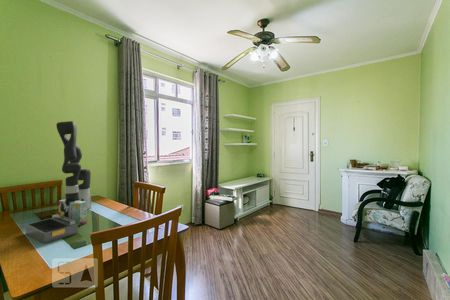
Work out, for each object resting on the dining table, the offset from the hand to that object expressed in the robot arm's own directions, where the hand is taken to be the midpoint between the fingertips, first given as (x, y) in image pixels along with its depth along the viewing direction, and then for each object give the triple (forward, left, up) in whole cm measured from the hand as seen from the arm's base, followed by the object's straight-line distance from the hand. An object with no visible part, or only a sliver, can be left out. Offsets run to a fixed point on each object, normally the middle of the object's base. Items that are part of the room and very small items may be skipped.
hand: (72, 215), depth 144 cm
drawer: (+15, +9, -5) cm, 18 cm away
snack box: (0, 0, -5) cm, 5 cm away
